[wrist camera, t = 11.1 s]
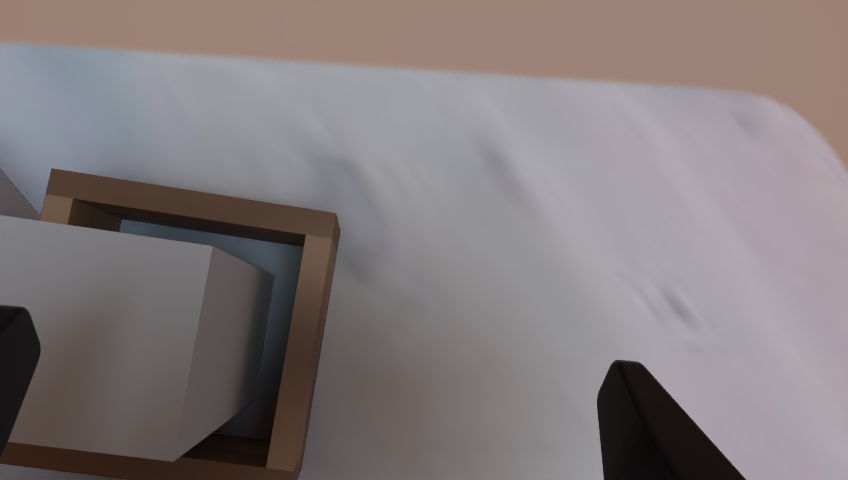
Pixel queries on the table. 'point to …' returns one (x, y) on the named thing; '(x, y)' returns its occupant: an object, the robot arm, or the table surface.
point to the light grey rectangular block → (132, 337)
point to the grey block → (14, 201)
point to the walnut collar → (319, 235)
